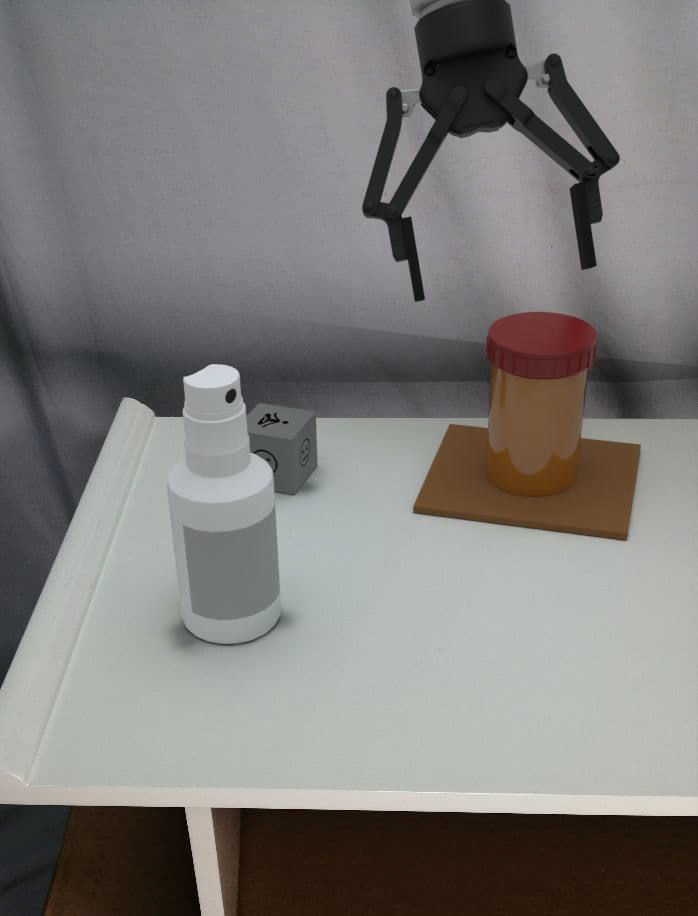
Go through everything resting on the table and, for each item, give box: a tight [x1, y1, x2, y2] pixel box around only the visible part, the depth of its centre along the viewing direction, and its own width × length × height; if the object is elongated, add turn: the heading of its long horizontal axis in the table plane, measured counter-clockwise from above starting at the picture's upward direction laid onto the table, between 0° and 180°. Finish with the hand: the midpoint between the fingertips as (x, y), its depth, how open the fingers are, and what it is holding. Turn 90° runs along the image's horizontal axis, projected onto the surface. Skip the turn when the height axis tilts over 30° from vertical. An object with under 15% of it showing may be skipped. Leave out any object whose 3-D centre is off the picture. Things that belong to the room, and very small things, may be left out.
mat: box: [412, 423, 642, 541], centre depth 94 cm, size 16×14×1 cm
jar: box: [485, 362, 589, 496], centre depth 91 cm, size 7×7×12 cm
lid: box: [485, 311, 598, 378], centre depth 88 cm, size 8×8×2 cm
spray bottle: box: [166, 363, 282, 645], centre depth 76 cm, size 7×7×18 cm
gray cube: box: [246, 402, 319, 496], centre depth 95 cm, size 5×5×5 cm
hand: (503, 285), depth 94 cm, fingers open, 13 cm apart
